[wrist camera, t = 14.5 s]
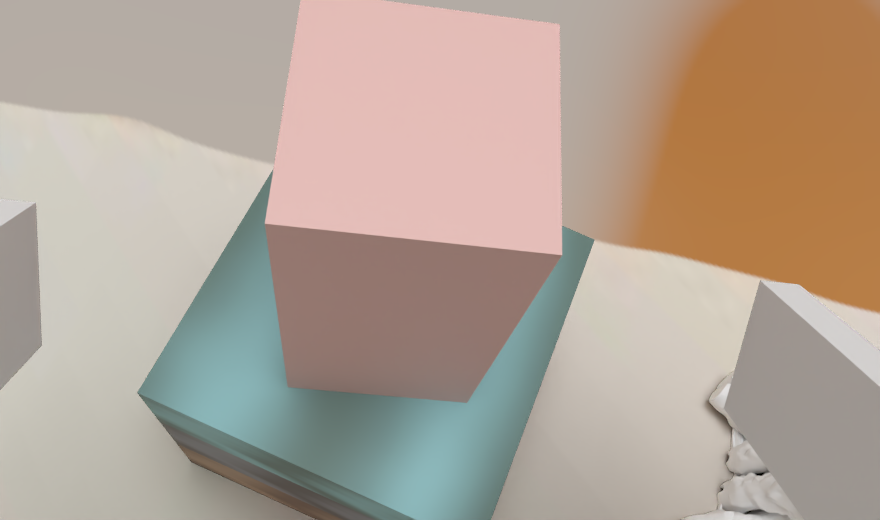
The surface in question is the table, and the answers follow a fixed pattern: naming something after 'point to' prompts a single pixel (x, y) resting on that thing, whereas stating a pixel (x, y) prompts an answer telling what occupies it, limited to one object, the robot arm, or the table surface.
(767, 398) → the robot arm
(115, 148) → the table surface
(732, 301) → the table surface
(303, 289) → the rose brick
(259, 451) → the teal topped wooden cube
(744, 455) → the sitting furry creature
